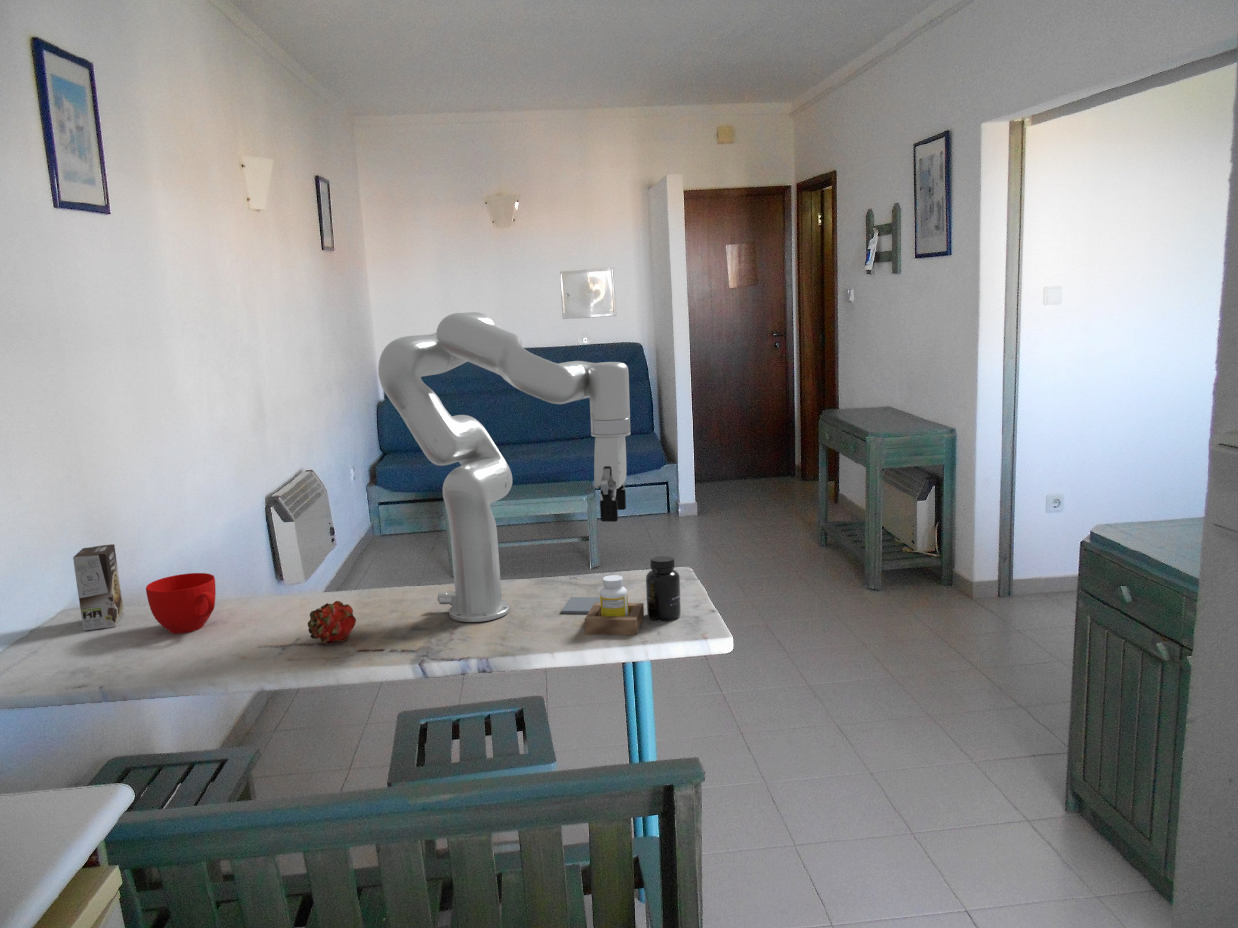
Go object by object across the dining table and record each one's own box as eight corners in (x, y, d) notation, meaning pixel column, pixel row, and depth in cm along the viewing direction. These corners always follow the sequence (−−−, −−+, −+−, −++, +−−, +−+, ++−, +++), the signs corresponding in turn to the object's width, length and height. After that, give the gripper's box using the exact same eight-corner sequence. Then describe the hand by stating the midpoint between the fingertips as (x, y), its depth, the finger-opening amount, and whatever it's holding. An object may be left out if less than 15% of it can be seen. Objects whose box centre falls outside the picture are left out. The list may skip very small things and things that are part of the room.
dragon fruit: (313, 660, 173) (346, 646, 184) (345, 635, 171) (377, 623, 182) (289, 623, 174) (323, 611, 185) (321, 598, 172) (353, 588, 183)
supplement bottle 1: (610, 619, 183) (608, 572, 182) (634, 623, 181) (632, 575, 179) (596, 627, 179) (593, 580, 177) (620, 631, 176) (617, 583, 174)
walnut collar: (585, 633, 176) (584, 619, 175) (595, 616, 185) (594, 602, 185) (636, 634, 174) (635, 619, 173) (644, 617, 184) (643, 602, 183)
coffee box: (116, 627, 192) (106, 553, 190) (82, 631, 191) (71, 557, 188) (125, 613, 201) (115, 543, 198) (93, 618, 199) (82, 546, 196)
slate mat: (561, 613, 188) (561, 610, 188) (571, 599, 197) (571, 596, 197) (604, 614, 187) (604, 611, 187) (612, 600, 195) (612, 597, 195)
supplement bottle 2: (681, 621, 180) (679, 562, 178) (647, 622, 181) (645, 564, 179) (680, 609, 187) (678, 553, 185) (647, 611, 187) (644, 554, 185)
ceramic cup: (186, 646, 179) (180, 597, 177) (139, 633, 188) (132, 586, 186) (244, 625, 189) (239, 579, 188) (197, 614, 199) (191, 569, 197)
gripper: (599, 421, 182) (602, 505, 185) (582, 434, 165) (585, 525, 168) (636, 421, 181) (639, 505, 184) (622, 433, 164) (625, 526, 167)
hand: (613, 515), depth 176 cm, fingers open, 9 cm apart
